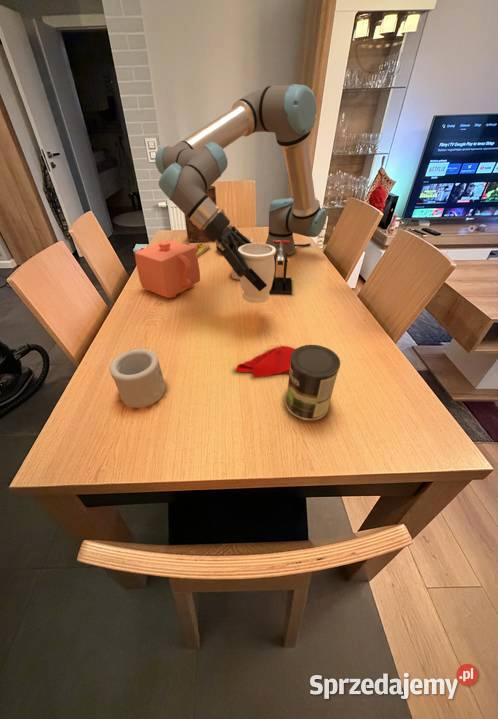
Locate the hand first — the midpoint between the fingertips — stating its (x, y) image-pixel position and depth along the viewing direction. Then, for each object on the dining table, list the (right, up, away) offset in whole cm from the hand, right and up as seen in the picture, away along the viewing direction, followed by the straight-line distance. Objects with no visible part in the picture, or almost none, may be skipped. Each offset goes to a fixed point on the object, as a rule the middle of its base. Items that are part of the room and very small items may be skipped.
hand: (266, 279), depth 89 cm
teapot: (-33, +6, +32) cm, 46 cm away
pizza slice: (-33, +27, +56) cm, 70 cm away
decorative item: (-17, +29, +58) cm, 67 cm away
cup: (-9, +11, +38) cm, 40 cm away
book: (-29, +40, +71) cm, 87 cm away
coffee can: (+9, -35, -17) cm, 39 cm away
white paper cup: (-3, -4, +5) cm, 7 cm away
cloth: (+5, -25, -5) cm, 26 cm away
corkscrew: (+7, +17, +25) cm, 31 cm away
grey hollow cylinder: (-32, -31, -13) cm, 47 cm away
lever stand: (+7, +5, +30) cm, 31 cm away
